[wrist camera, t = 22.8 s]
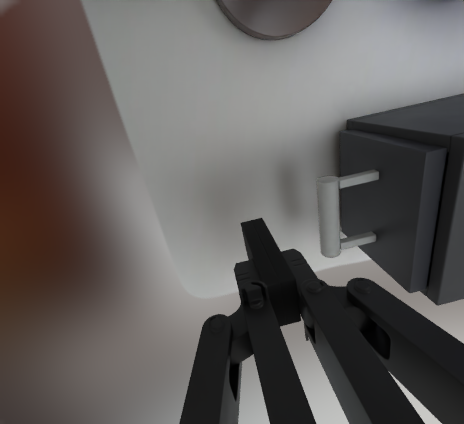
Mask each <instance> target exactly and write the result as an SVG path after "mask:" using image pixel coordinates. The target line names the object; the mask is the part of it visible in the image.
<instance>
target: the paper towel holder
mask: <svg viewBox="0 0 464 424" xmlns="http://www.w3.org/2000/svg"><path fill="white" fill-rule="evenodd" d="M331 1H332V0H217V2H218V4H219V6H220V7H221V9H222V10H223V12H224V13H225V15H226V16H227V17H228V18H229V19H230V21H231V22H232V23H234V24H235V25H236V26H237V27H238V28H239V29H241V30H242V31H244V32H245V33H247V34H249V35H251V36H254V37H257V38H260V39H266V40H277V39H284V38H287V37H290V36H292V35H294V34H296V33H298V32H300V31H302V30H303V29H305V28H306V27H308V26H309V25H311V24H312V23H313V22H314V21H316V20H317V19H318V18H319V17H320V16H321V15H322V13H323V12H324V11H325V10H326V9H327V7H328V6H329V4H330V3H331Z"/></svg>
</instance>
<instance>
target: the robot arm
mask: <svg viewBox="0 0 464 424" xmlns="http://www.w3.org/2000/svg"><path fill="white" fill-rule="evenodd" d="M241 227H242V232H243V237H244V241H245V246H246V251H247V255H248V258H249V260H248V261H244V262H240V263H236V265H235V268H234V272H235V276H236V281H237V285H238V289H239V295H240V299H241V305H240V307H239V309H238V310H237V311H236V312H235V313H233V314H232V315H230V316H228V317H227V316H225V315H222V314H218V315H214V316H212V317H210V318H208V319H207V320H206V321H205V323H204V325H203V327H202V331H201V335H200V339H199V344H198V348H197V352H196V356H195V360H194V364H193V369H192V373H191V377H190V381H189V386H188V390H187V394H186V399H185V403H184V407H183V411H182V415H181V419H180V424H238V415H239V401H240V386H241V371H242V361H244V360H245V359H247V358H248V357H250V356H251V355H253V354H254V357H255V362H256V366H257V370H258V375H259V378H260V383H261V387H262V392H263V396H264V400H265V404H266V408H267V413H268V416H269V421H270V424H316V422H315V419H314V416H313V414H312V411H311V408H310V406H309V403H308V400H307V398H306V395H305V392H304V390H303V387H302V385H301V382H300V379H299V377H298V374H297V371H296V369H295V366H294V364H293V361H292V358H291V355H290V353H289V350H288V347H287V345H286V342H285V339H284V337H283V334H282V331H281V329H280V326H283V325H287V324H291V323H295V322H299V321H301V317H302V319H303V320H304V328H305V336H306V340H307V341H308V340H309V339H310V341H311V343H312V345H313V348H314V350H315V352H316V354H317V356H318V358H319V360H320V362H321V365H322V367H323V369H324V371H325V373H326V375H327V377H328V379H329V381H330V384H331V386H332V388H333V390H334V392H335V394H336V396H337V398H338V400H339V403H340V405H341V407H342V409H343V411H344V413H345V415H346V417H347V420H348V422H349V424H425V423H424V422H423V420H422V419H421V417H420V416H419V414H418V413H417V412H416V410H415V409H414V407H413V406H412V404H411V403H410V402H409V400H408V399H407V397H406V396H405V395H404V393H403V392H402V390H401V389H400V387H399V386H398V385H397V383H396V382H395V380H394V379H393V377H392V376H391V375H390V373H391V374H392V375H393V376H394V377H395V378H396V379H397V380H398V381H399V382H400V383H401V384H403V386H404V387H405V388H407V390H408V391H409V392H410V393H412V394H413V395H414V396H415V397H416V398H417V399H418V400H419V401H420V402H421V403H422V404H423V405H424V406H425V407H426V408H427V409H428V410H429V411H430V412H431V413H432V414H433V415H434V416H435V417H436V418H437V419H438V420H439V421H440V422H441V423H442V424H464V344H463V343H462V342H460V341H459V340H458V339H456V338H455V337H453V336H452V335H450V334H449V333H447V332H446V331H444V330H443V329H441V328H440V327H439V326H437V325H436V324H434V323H433V322H431V321H430V320H428V319H427V318H425V317H424V316H423V315H421V314H420V313H418V312H416V311H415V310H414V309H412V308H411V307H410V306H408V305H407V304H405V303H404V302H402V301H401V300H399V299H398V298H396V297H395V296H394V295H392V294H391V293H389V292H388V291H386V290H385V289H383V288H382V287H380V286H379V285H377V284H376V283H375V282H373V281H371V280H369V279H365V278H354V279H351V280H350V281H349V282H348V284H347V286H346V287H335V286H329V285H327V284H326V283H325V282H324V281H322V280H320V279H318V278H317V276H316V275H315V273H314V272H313V270H312V269H311V267H310V266H309V264H308V263H307V261H306V260H305V259H304V257H303V256H302V254H301V253H300V252H299V251H297V250H295V249H290V250H286V251H282V252H281V251H280V249H279V247H278V246H277V244H276V242H275V240H274V239H273V237H272V235H271V233H270V231H269V230H268V228H267V226H266V224H265V222H264V221H263V219H262V218H259V219H255V220H251V221H247V222H242V223H241ZM300 314H301V316H300ZM308 337H309V339H308ZM388 371H389V372H390V373H389V372H388Z"/></svg>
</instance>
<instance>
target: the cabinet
mask: <svg viewBox="0 0 464 424" xmlns="http://www.w3.org/2000/svg"><path fill="white" fill-rule="evenodd" d="M349 129H358V130H362V131H367V132H372V133H377V134H382V135H387V136H392V137H397V138H402V139H407V140H412V141H417V142H422V143H427V144H432V145H437V146H442V147H447V152H448V153H449V157H448V163H447V169H446V176H445V182H444V189H443V195H442V202H441V208H440V214H439V221H438V227H437V234H436V240H435V247H434V253H433V259H432V263H431V262H430V266H429V273H428V279H427V286H426V289H425V290H421V291H420V292H422V293H423V294H424V295H425V296H427V297H428V298H429V299H430V300H431V301H433V302H434V303H435V304H436V305H441V304H446V303H450V302H453V301H457V300H461V299H464V94H460V95H456V96H451V97H447V98H442V99H438V100H433V101H429V102H425V103H420V104H416V105H411V106H407V107H402V108H398V109H394V110H389V111H385V112H380V113H376V114H371V115H367V116H362V117H358V118H354V119H349V120H347V130H349Z"/></svg>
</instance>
